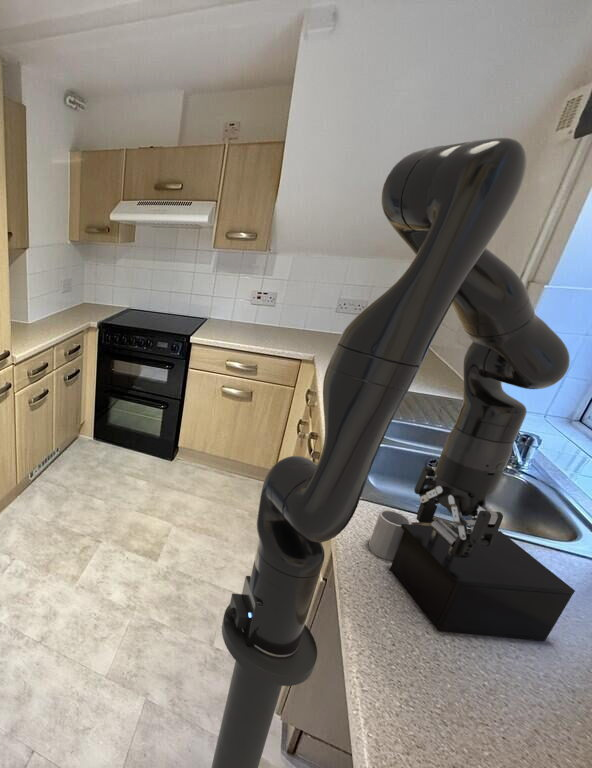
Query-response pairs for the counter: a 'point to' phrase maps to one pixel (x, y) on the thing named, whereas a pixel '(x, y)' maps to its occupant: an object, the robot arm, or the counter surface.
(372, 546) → the cup
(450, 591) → the black hollow box
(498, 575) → the black box lid
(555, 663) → the counter surface
